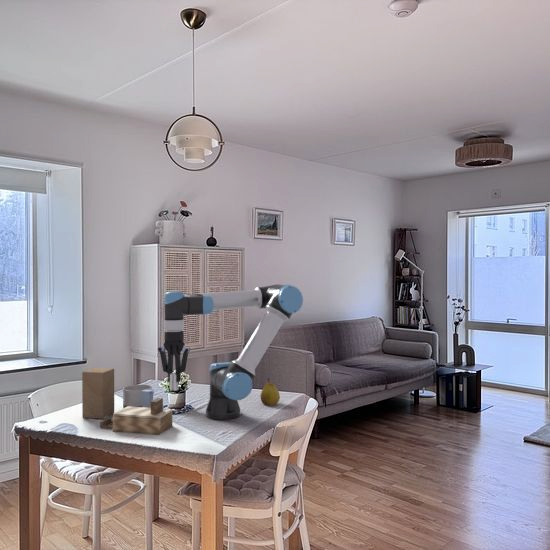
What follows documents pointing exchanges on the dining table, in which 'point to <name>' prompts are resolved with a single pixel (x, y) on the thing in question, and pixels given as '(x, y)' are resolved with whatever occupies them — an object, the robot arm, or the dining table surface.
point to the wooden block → (98, 393)
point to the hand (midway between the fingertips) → (174, 389)
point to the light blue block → (147, 398)
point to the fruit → (270, 394)
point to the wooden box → (142, 424)
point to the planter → (134, 395)
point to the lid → (145, 410)
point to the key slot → (106, 423)
